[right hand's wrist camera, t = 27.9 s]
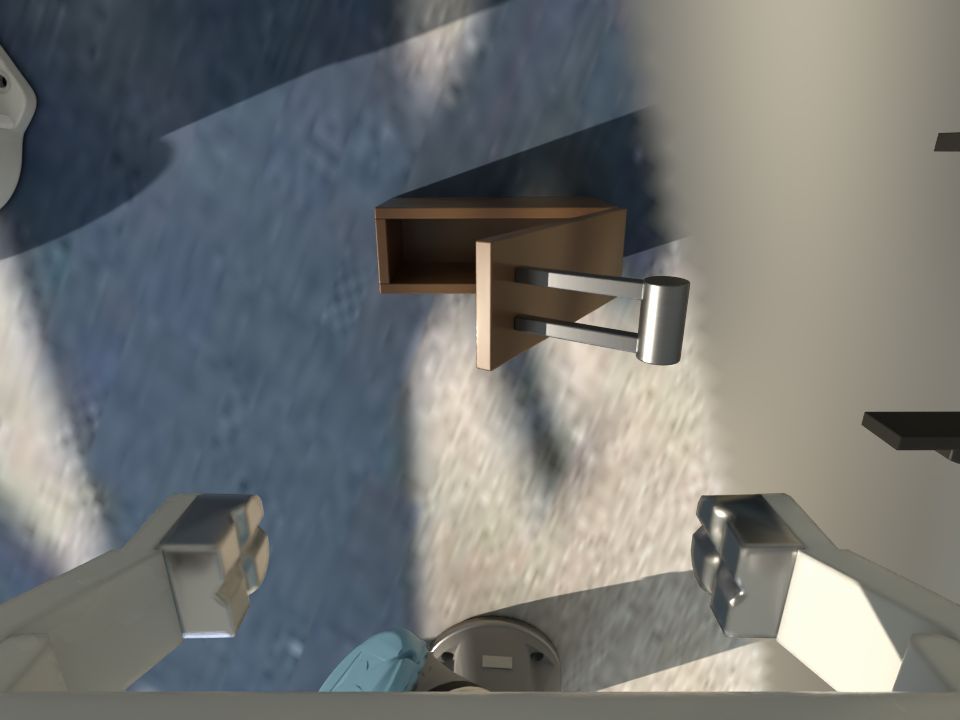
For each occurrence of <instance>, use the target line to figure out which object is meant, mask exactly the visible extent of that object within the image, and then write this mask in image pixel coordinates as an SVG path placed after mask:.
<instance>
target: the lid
mask: <svg viewBox="0 0 960 720" xmlns="http://www.w3.org/2000/svg"><path fill="white" fill-rule="evenodd" d="M626 215H627V208H617V207H616V208H612V209H607V210H603V211H599V212H595V213H590V214H586V215H582V216H578V217H573V218H569V219H565V220H561V221H556V222H552V223H548V224H544V225H539V226H535V227H531V228H527V229H522V230H518V231H514V232H510V233H505V234H501V235H497V236H493V237H488V238H484V239H480V240H476V367H477V368H479V369H483V370H487V371H492V370H494V369H496V368H498V367H499V366H501V365H503V364H504V363H506V362H508V361H509V360H511V359H513V358H514V357H516V356H518V355H520V354H521V353H523V352H525V351H526V350H528V349H530V348H531V347H533V346H535V345H537V344H538V343H540V342H542V341H543V340H545V339H547V338H548V337H553V338H559V339H564V340H569V341H575V342H580V343H585V344H591V345H596V346H601V347H607V348H612V349H617V350H623V351H628V352H633V353H636V357H637V358H638V359H639V360H640V361H643V362H645V363H649V364H654V365H673V364H676V363H678V362H679V361H680V358H681V350H682V342H683V335H684V327H685V319H686V312H687V304H688V297H689V289H690V282H689V281H688V280H685V279H682V278H678V277H670V276H653V277H648V278H645V279H644V280H641V279H632V278H624V277H621V273H622V262H623V250H624V239H625V227H626ZM616 297H624V298H631V299H638V300H641V308H640V318H639V328H638V333H633V332H627V331H621V330H616V329H610V328H604V327H598V326H592V325H586V324H580V323H574V322H575V321H577V320H579V319H581V318H582V317H584V316H586V315H587V314H589V313H591V312H592V311H594V310H596V309H598V308H599V307H601V306H603V305H604V304H606V303H608V302H609V301H611V300H613V299H614V298H616Z"/></svg>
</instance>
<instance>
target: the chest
mask: <svg viewBox="0 0 960 720" xmlns="http://www.w3.org/2000/svg"><path fill="white" fill-rule="evenodd" d="M616 207H617V206H615V205H613V204H610V203H608V202H605V201H603V200H601V199H598V198H596V197H393V198H391V199H390V200H388V201H386V202H384V203H383V204H381V205H379V206H377V207H375V218H376V219H375V224H376V239H377V254H378V269H379V283H380V293H381V294H475V293H476V240H480V239H484V238H488V237H493V236H497V235H501V234H505V233H510V232H514V231H518V230H522V229H527V228H531V227H535V226H539V225H544V224H548V223H552V222H556V221H561V220H565V219H569V218H573V217H578V216H582V215H586V214H590V213H595V212H599V211H603V210H607V209H612V208H616ZM617 208H619V207H617Z"/></svg>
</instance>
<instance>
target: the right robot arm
mask: <svg viewBox="0 0 960 720" xmlns="http://www.w3.org/2000/svg"><path fill="white" fill-rule="evenodd" d="M3 77H5V79H6V81H7V85H6V87H5V86H4V84H3V81H2V79H3ZM36 104H37V101H36V96H35V93H34V91H33V89H32V88H31V86H30V85H29V84H28V82H27V81H26V79H25V78H24V77H23V75H22V74H21V73H20V71H19V70H18V68H17V67H16V66H15V64H14V63H13V62H12V60H11V59H10V57H9V56H8V55H7V53H6V52H5V50H4V49H3V48H2V46H1V45H0V209H1V208H2V207H3V206H4V205H5V204H6V203H7V201H8V200H9V199H10V197H11V196H12V194H13V192H14V190H15V188H16V186H17V183H18V180H19V177H20V172H21V166H22V143H23V136H24V132H25V130H26V129H27V127H28V125H29V123H30V121H31V119H32V117H33V115H34V112H35V109H36ZM263 515H264V512H263V507H262V502H261V499H260V498H259V497H258V496H257V495H250V494H200V493H179V494H174V495H170V496H169V497H168V498H167V499H166V500H165V502H164V503H163V504H162V505H161V506H160V507H159V508H158V509H157V510H156V511H155V513H154V514H153V515H152V516H151V517H150V518H149V519H148V520H147V521H146V523H145V524H144V525H143V526H142V527H141V528H140V529H139V530H138V531H137V533H136V534H135V535H134V536H133V537H132V538H131V539H130V540H129V541H128V542H127V544H126V545H125V546H124V547H123V548H122V549H121V550H110V551H108V552H106V553H104V554H102V555H100V556H98V557H96V558H94V559H92V560H90V561H88V562H86V563H84V564H82V565H80V566H78V567H76V568H74V569H72V570H70V571H68V572H66V573H64V574H62V575H60V576H58V577H56V578H54V579H52V580H50V581H48V582H46V583H43V584H41V585H39V586H37V587H35V588H33V589H31V590H29V591H27V592H25V593H23V594H21V595H19V596H17V597H15V598H13V599H11V600H9V601H7V602H5V603H3V604H1V605H0V720H960V605H959V604H957V603H955V602H953V601H951V600H949V599H947V598H945V597H943V596H941V595H939V594H937V593H935V592H932V591H930V590H928V589H926V588H924V587H922V586H920V585H918V584H916V583H914V582H912V581H910V580H908V579H906V578H904V577H902V576H900V575H898V574H896V573H894V572H892V571H890V570H888V569H886V568H884V567H882V566H880V565H878V564H876V563H874V562H872V561H870V560H868V559H866V558H864V557H862V556H860V555H858V554H856V553H854V552H852V551H850V550H839V549H838V548H837V547H836V546H835V545H834V544H833V543H832V541H831V540H830V539H829V538H828V537H827V536H826V535H825V534H824V533H823V531H822V530H821V529H820V528H819V527H818V526H817V525H816V524H815V523H814V521H813V520H812V519H811V518H810V517H809V516H808V515H807V514H806V513H805V512H804V510H803V509H802V508H801V507H800V506H799V505H798V504H797V503H796V502H795V500H794V499H793V498H792V497H791V496H789V495H787V494H785V493H770V494H754V495H702V496H701V498H700V500H699V502H698V506H697V511H696V515H697V517H698V519H699V521H700V522H701V524H702V526H701V527H700V528H699V529H698V530H697V531H696V532H695V533H694V534H693V536H692V544H691V558H692V566H693V570H694V573H695V577H696V579H697V581H698V583H699V585H700V587H701V588H702V589H704V590H705V591H707V592H708V593H709V594H711V595H712V599H711V605H710V607H711V609H712V611H713V613H714V615H715V617H716V619H717V621H718V623H719V625H720V627H721V628H722V630H723V632H724V634H725V636H726V637H751V638H777V640H776V641H777V642H779V643H780V644H781V645H782V646H783V647H785V648H786V649H787V650H788V651H789V652H791V653H792V654H793V655H794V656H795V657H797V658H798V659H799V660H800V661H801V662H803V663H804V664H805V665H806V666H807V667H809V668H810V669H811V670H812V671H813V672H815V673H816V674H817V675H818V676H819V677H821V678H822V679H823V680H824V681H825V682H827V683H828V684H829V685H830V686H831V687H833V688H834V689H835V690H836V691H837V692H123V691H124V690H125V689H126V688H128V687H129V686H130V685H131V684H132V683H134V682H135V681H136V680H137V679H138V678H140V677H141V676H142V675H143V674H144V673H146V672H147V671H148V670H149V669H150V668H152V667H153V666H154V665H155V664H156V663H158V662H159V661H160V660H161V659H162V658H164V657H165V656H166V655H167V654H168V653H170V652H171V651H172V650H173V649H174V648H176V647H177V646H178V645H179V644H180V643H182V642H183V638H208V637H234V636H235V634H236V632H237V631H238V629H239V627H240V625H241V623H242V621H243V619H244V617H245V615H246V613H247V611H248V609H249V607H250V605H249V599H248V595H249V594H251V593H252V592H253V591H255V590H256V589H258V588H259V587H260V585H261V583H262V581H263V579H264V576H265V574H266V569H267V565H268V560H269V543H268V536H267V534H266V533H265V532H264V531H263V530H262V529H261V528H260V527H259V526H258V524H259V522H260V521H261V519H262V517H263Z"/></svg>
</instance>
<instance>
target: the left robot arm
mask: <svg viewBox="0 0 960 720" xmlns="http://www.w3.org/2000/svg"><path fill="white" fill-rule="evenodd" d="M934 151H960V132H958V133H939V134H938V138H937V142H936V145H935V149H934ZM862 425H863V426H864V427H865V428H867V429H868V430H870V431H871V432H872V433H874V434H875V435H877V436H878V437H879V438H881V439H882V440H883V441H885V442H886V443H888V444H889V445H890V446H892V447H893V448H895V449H896V450H935V451H937V452H938V453H940V454H941V455H943V456H944V457H946V458H947V459H949V460H951V461H953V462H956V463H959V464H960V412H865V413H864V417H863V421H862ZM560 691H561V668H560V662H559V657H558V654H557V651H556V649H555V647H554V645H553V644H552V643H551V641H550V640H549V639H548V638H547V637H546V636H545V635H544V634H543V633H542V632H540V631H539V630H538V629H536V628H534V627H533V626H531V625H529V624H527V623H524V622H522V621H519V620H515V619H511V618H506V617H493V616H491V617H479V618H473V619H469V620H466V621H463V622H460V623H458V624H455V625H453V626H452V627H450V628H448V629H447V630H445V631H444V632H442V633H441V634H440V635H439V636H438V637H437V638H436V639H435V640H434V641H433V642H432V644H431V645H430V647H429V649H428V646H427V644H426V642H425V641H424V640H419V639H418V638H417V637H416V636H415V635H414V634H413V633H411V632H410V631H408V630H406V629H403V628H391V629H387V630H384V631H382V632H379V633H377V634H375V635H373V636H372V637H370V638H369V639H368V640H366V641H365V642H364V643H362V644H360V645H359V646H358V647H356V648H355V649H354V650H353V651H352V652H351V653H350V654H349V655H348V656H347V657H346V658H345V659H344V660H343V661H342V662H341V663H340V664H339V665H338V666H337V667H336V669H335V670H334V671H333V672H332V674H331V675H330V676H329V677H328V679H327V680H326V681H325V683H324V684H323V685H322V687H321V688H320V690H319V692H560Z"/></svg>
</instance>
